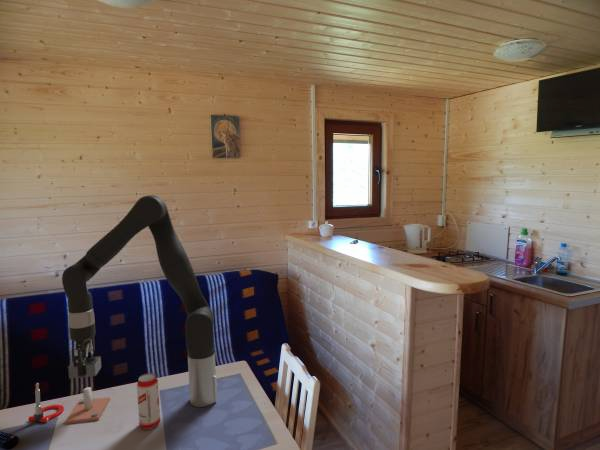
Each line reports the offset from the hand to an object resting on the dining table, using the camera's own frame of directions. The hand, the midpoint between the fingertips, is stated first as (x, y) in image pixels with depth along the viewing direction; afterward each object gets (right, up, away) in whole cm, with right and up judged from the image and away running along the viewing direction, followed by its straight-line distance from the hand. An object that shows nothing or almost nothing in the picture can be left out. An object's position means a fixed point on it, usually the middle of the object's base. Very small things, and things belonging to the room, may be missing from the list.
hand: (85, 371), depth 130 cm
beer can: (+24, -15, -6) cm, 29 cm away
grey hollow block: (0, -1, 0) cm, 1 cm away
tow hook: (-13, -15, 0) cm, 20 cm away
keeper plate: (0, -14, +2) cm, 14 cm away
